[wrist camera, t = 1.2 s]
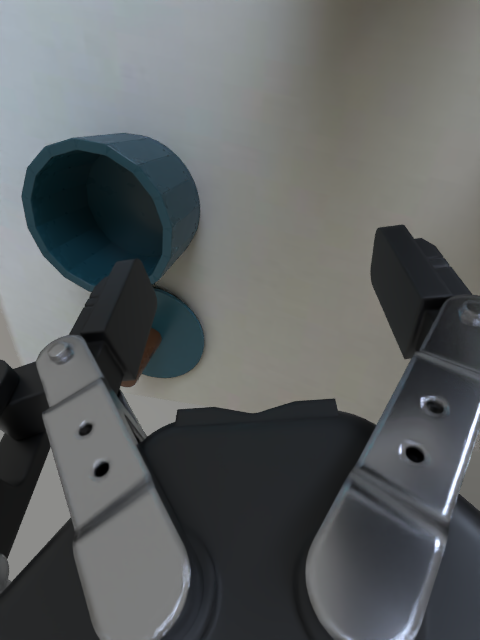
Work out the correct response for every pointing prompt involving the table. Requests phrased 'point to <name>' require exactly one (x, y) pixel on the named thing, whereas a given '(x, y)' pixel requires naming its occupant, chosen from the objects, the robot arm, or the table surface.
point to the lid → (171, 340)
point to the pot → (109, 205)
